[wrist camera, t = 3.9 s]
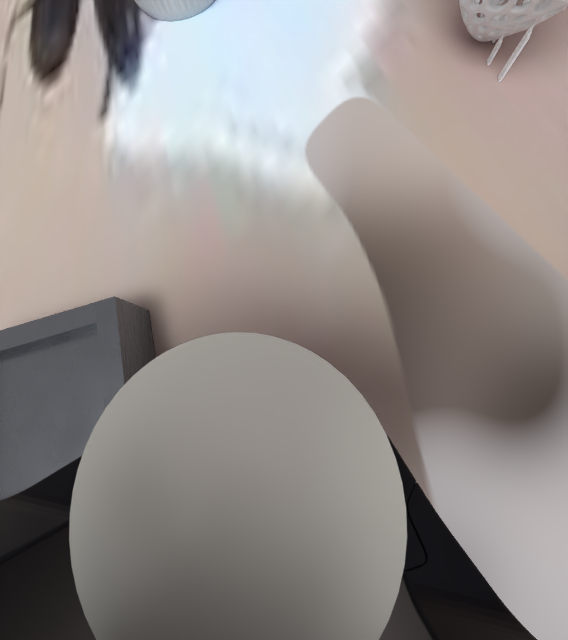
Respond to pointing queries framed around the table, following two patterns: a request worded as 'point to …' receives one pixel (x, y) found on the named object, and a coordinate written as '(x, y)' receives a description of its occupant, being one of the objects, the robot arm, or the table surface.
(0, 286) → the table surface
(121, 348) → the gray square base
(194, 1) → the ramekin
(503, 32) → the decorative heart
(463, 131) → the table surface
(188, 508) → the off-white cylinder
